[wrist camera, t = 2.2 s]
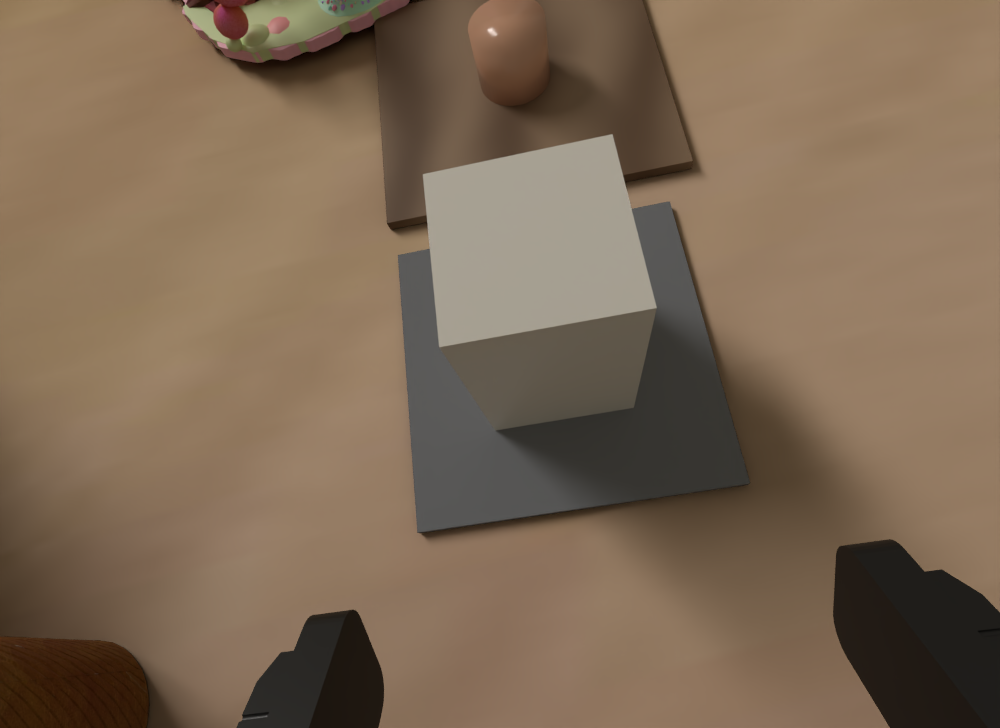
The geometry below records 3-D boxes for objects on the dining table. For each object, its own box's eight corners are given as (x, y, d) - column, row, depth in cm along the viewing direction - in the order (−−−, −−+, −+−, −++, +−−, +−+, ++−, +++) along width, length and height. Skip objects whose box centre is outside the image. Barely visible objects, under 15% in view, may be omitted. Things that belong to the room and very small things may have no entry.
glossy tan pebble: (466, 87, 33) (452, 34, 30) (510, 42, 33) (501, -16, 30) (520, 116, 31) (511, 63, 28) (564, 68, 32) (561, 11, 29)
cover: (495, 430, 26) (439, 347, 16) (479, 308, 28) (422, 174, 19) (633, 407, 25) (656, 308, 16) (606, 284, 27) (612, 133, 18)
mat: (420, 533, 25) (417, 532, 25) (400, 259, 30) (397, 255, 30) (747, 484, 24) (750, 483, 23) (668, 206, 29) (669, 201, 28)
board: (390, 229, 31) (387, 223, 30) (376, 21, 37) (373, 12, 36) (691, 168, 29) (692, 160, 29) (626, -39, 35) (627, -49, 35)
